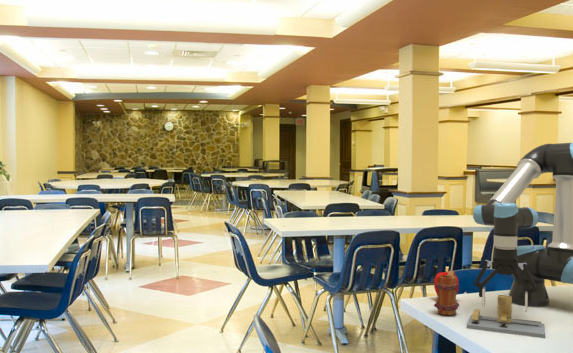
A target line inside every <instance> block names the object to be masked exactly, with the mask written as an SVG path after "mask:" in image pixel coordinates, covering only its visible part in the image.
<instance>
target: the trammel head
mask: <svg viewBox="0 0 573 353" xmlns="http://www.w3.org/2000/svg"><path fill="white" fill-rule="evenodd" d="M496 308H497V311H496V312H497V316H496V317H497V322H502V325H503V326H505V323H510V324H511V318H512V319H513V316H512V314H513V310H512V309H513V303H512V296H509V295H505V294H498V295H497V306H496Z"/></svg>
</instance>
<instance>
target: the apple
mask: <svg viewBox="0 0 573 353" xmlns="http://www.w3.org/2000/svg"><path fill="white" fill-rule="evenodd" d="M447 274H448V271H445V272H443V271H442V272H438V273H437V274H436V275H435V277H434V280H433V281H434V282H433V285H434V286H433V287H434V288H433V289H434V291H435V293H436V295H437V296H438V288H436V287H435V285H436V284H437V282H438V276H439V275H440V276H441V275H447ZM456 283H457V284H458V285H459V286H458V288H457V289H456V296H457V294H458V292H459V289H460V288H459V287H460V284H459V278H458V277H457V275H456Z"/></svg>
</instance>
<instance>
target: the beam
mask: <svg viewBox="0 0 573 353" xmlns="http://www.w3.org/2000/svg"><path fill="white" fill-rule="evenodd" d="M471 315H472V319H473V320H474V323H477V320H478V319H479V318H480V319H489V320H497V316H494V315H493V316H492V315H488V314H487V315H485V314H481V310H480V309H477V308H474V309H473V311H472V313H471ZM511 322H514V323H522V324H531V325H539V327H541V323H542V321H536V320H528V319H521V318H520V319H519V318H513V317H512V318H511Z"/></svg>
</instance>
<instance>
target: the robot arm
mask: <svg viewBox="0 0 573 353" xmlns="http://www.w3.org/2000/svg"><path fill="white" fill-rule="evenodd" d="M547 173H548V174H549V173H551V174H552V175H551V177H552V178H553V179H554V180H555V181H556V182H555V193H554V194H555V197H554V208H553V209H554V211H553V224H552V225H553V226H552V237H551V238H552V239H551V240H552V241H551V242H550V243H549V244H548V245H547V247H546V246H545V245H542V244H541V245H540V244H532V245H531V244H528V245H518V230H528V229H532V228H535V226H537V224H538V223H539V219H540V217H539V214H538V212H537V210H535V209H534V208H532V207H528V206H527V207H525V206H523V207H518V206H519V205H518V204H517V203H515V202H516V201H517V200H518V199H519V197H520V196H521V195H522V194H523V193H524V191H525V190H526V189H527V188H528V186H529V185H530V184H531V183H532V182H533V180H534V179H538V178H539V177H540V176H541V175H543V174H547ZM472 219H473V221H474V222H475V223H476V224H478V225H481V226H486V227H487V226H488V227H489V226H490V227H493V246H494V247H493V259H492V261H490V260H488V259H484V261H483V266H482V268H481V270H480V272H479V274H478V275H477V277H476V279H475V280H474V283H473V286H474V287H477V288H478V296H479V298H482V299H481V300H482V301H481V303H482V305H481V307H482V308H483V309H484V308H485V307H486V287H485V286H486V285H487V284H488V283H489V282H490V281H491V280H492V279H493V278H494V277H495V276H496V275H497V274H499V275H500V276H501V275H502V276H503V275H505V276H511V275H512V277H513V278H512V279H513V282H512V285H511V287H510V289H509V292H508V296H512V304H515V305H516V304H517V305H520V306H524V312H525V313H528V307H546V306H549V305H550V298H549V294H548V292H547V288H546V285H545V282H546V281H545V280H547V281H551V282H552V281H553V282H556V283H557V282H558V283H563V284H570V285H573V142H564V143H545V144H541V145H538V146H536V147H534V148H533V149H531V150H530V151H528V152H527V153H526V154H525V155H524V156H522V158H520V160H519V161H518V162H517V164H516V168H515V170H514V171H513V172H512V173H511V174H510V175H509V176H508V178H507V179H506V180H505V181H504V183H503V184H502V185H501V186H500V187H499V189H498V190H496V192H495V193H494V194H493V195H492V197H491V198H490V199H489V200H488V201H487V202H486V204H478V205H476V206H475V207H474V209H473V211H472ZM546 248H547V249H546ZM490 266H492V267H493V271H491V273H489V275H488V276H486V278H484V280H482V281H481V279H482V277H483V276H484V274H485V272H486V270H487V269H488V268H490ZM480 281H481V282H480Z"/></svg>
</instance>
